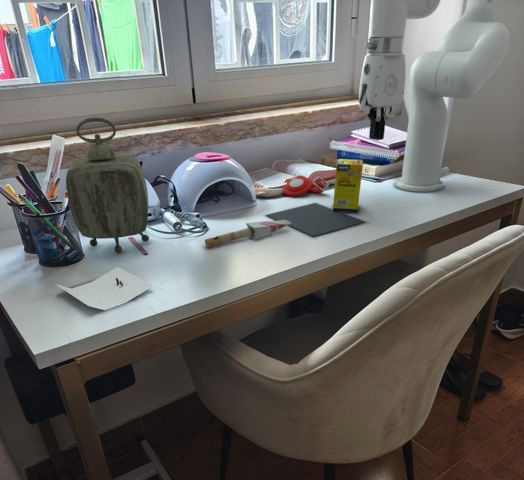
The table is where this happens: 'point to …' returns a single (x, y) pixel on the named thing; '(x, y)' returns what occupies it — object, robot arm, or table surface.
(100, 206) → the tabletop clock
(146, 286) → the folded paper
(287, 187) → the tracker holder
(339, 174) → the supplement box
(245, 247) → the table surface
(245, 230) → the paintbrush
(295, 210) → the mat
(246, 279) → the table surface
